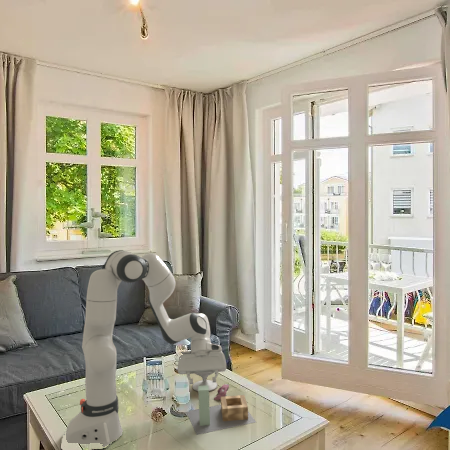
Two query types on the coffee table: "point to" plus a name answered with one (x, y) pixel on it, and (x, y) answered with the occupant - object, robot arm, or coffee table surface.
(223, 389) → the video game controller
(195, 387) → the chalice
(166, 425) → the coffee table surface
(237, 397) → the square hole block
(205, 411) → the bracket bar
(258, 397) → the coffee table surface
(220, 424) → the base board
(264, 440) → the coffee table surface
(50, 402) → the coffee table surface
